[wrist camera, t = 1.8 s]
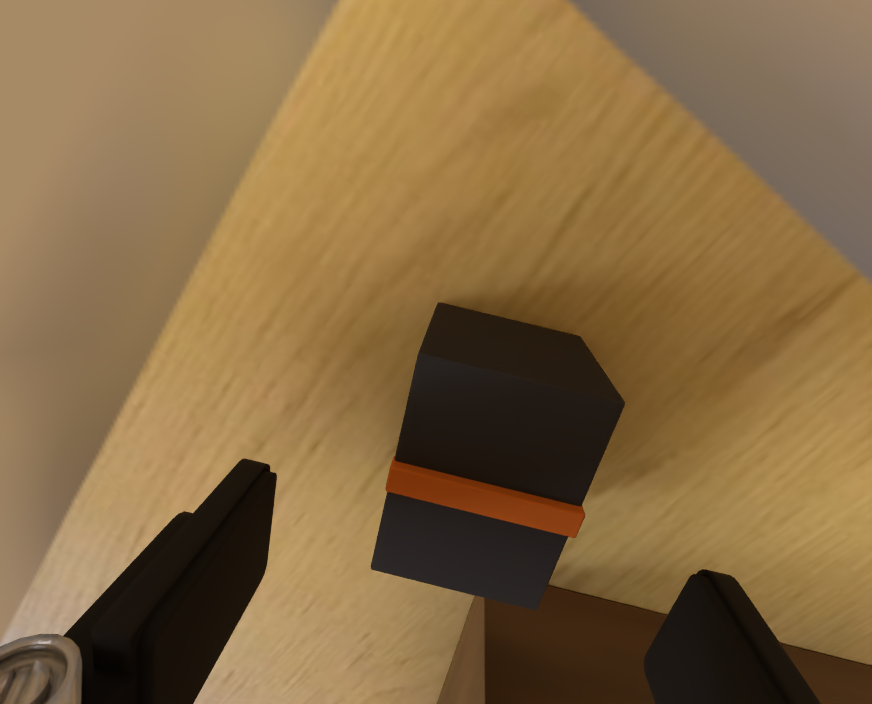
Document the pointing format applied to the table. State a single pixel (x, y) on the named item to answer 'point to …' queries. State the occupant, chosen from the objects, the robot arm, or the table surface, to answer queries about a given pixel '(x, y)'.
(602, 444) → the black banded block
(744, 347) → the table surface
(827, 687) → the brown and grey box
